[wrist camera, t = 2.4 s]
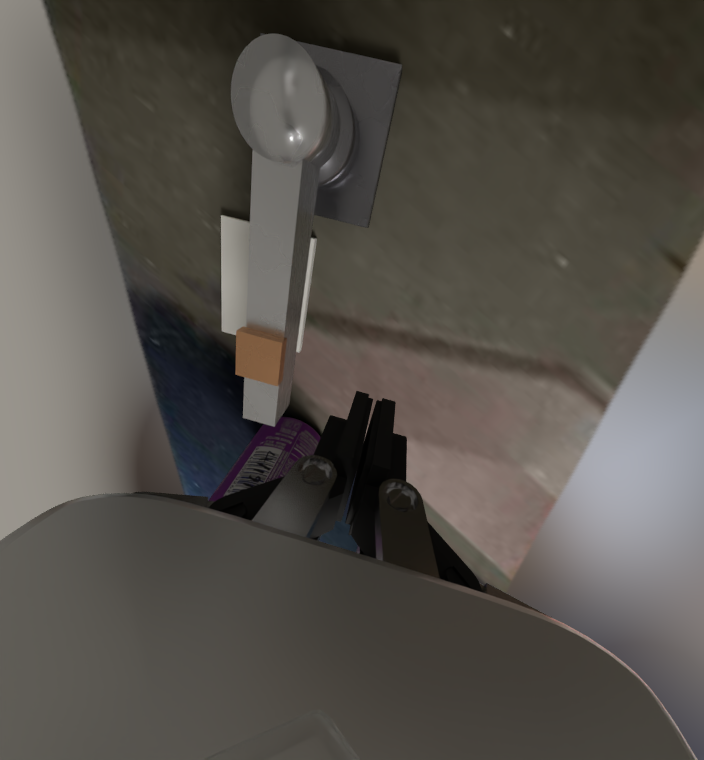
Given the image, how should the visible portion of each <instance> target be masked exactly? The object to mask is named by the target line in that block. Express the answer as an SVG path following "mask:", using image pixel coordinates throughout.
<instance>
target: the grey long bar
mask: <svg viewBox="0 0 704 760" xmlns="http://www.w3.org/2000/svg"><path fill="white" fill-rule="evenodd" d="M231 103H232V110H233V114H234V118H235V121H236V124H237V126H238V128H239V131H240V133H241V134H242V136H243V138H244V139H245V141H246V142H247V143H248V145H249V146H250V147H251V148H252V149H253V151H252V179H251V207H250V234H249V262H248V289H247V317H246V327H244V326H243V327H241V328H240V329H238V330H237V331H236V373H235V375H239V376H242V377H244V400H243V418H245V419H249V420H252V421H256V422H259V423H263V424H266V425H270V426H273V427H275V425H276V424H277V422H278V421H279V419H280V418H281V416H282V415H283V413H284V412H285V410H286V409H287V407H288V406H289V403H290V395H291V387H292V380H293V372H294V364H295V357H296V349H297V341H298V334H299V326H300V318H301V311H302V303H303V295H304V288H305V280H306V272H307V265H308V257H309V249H310V242H311V234H312V226H313V219H314V211H315V204H316V196H317V188H318V181H319V173H320V168H321V167H322V166H324V165H325V164H326V163H327V162H328V161H329V159H330V158H331V157H332V155H333V153H334V152H335V149H336V147H337V144H338V141H339V137H340V129H341V121H340V113H339V108H338V105H337V102H336V99H335V97H334V95H333V93H332V92H331V90H330V88H329V87H328V85H327V83H326V82H325V80H324V78H323V77H322V75H321V74H320V72H319V70H318V69H317V67H316V65H315V64H314V62H313V61H312V59H311V57H310V56H309V54H308V53H307V52H306V51H305V49H304V48H303V47H302V46H301V45H300V44H299V43H297V42H296V41H295V40H293V39H291V38H289V37H287V36H284V35H281V34H266V35H262V36H260V37H258V38H256V39H254V40H253V41H252V42H250V43H249V44H248V45H247V46H246V47H245V49H244V50H243V51H242V53H241V54H240V56H239V58H238V60H237V63H236V65H235V68H234V72H233V75H232V82H231Z"/></svg>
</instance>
